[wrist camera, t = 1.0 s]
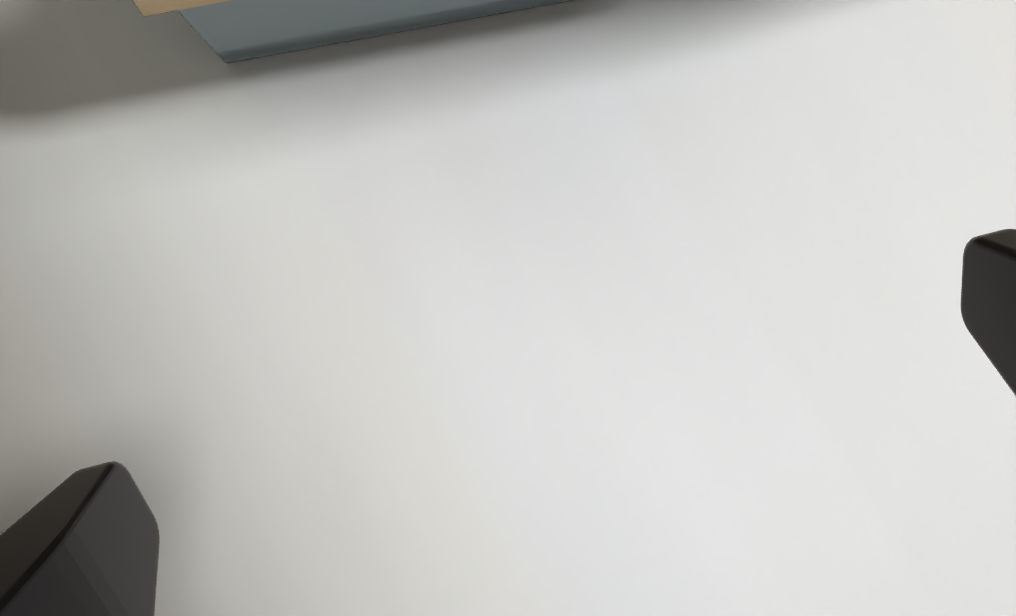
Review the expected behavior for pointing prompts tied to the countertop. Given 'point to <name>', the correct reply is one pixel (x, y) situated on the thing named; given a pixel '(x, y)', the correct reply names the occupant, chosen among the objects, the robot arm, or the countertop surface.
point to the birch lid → (170, 5)
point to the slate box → (326, 21)
